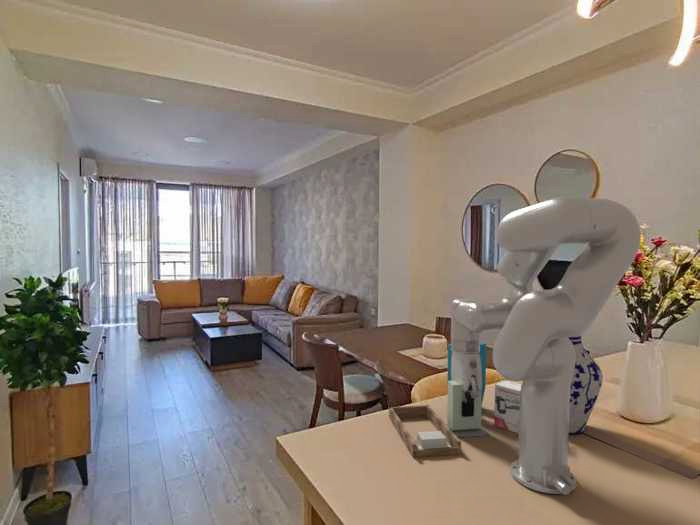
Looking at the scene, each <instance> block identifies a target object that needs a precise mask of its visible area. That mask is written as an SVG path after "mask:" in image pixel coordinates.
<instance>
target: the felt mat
mask: <svg viewBox="0 0 700 525" xmlns="http://www.w3.org/2000/svg"><path fill="white" fill-rule="evenodd" d="M445 424H446V425H447V423H445ZM447 427H448V428H449V429H450V430H451V431H452V432H453V433H454V434H455V436H456V437H457V438H458V439H459V438H469V437H470V438H472V437H487V436H488V437H489V436H490V435H491V434H490V433H489V432H488V430H486V429H485V428H484V427H483V426H482V425H481V428H480V429H464V430H452V429H451V428H450V427H449V426H448V425H447Z"/></svg>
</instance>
